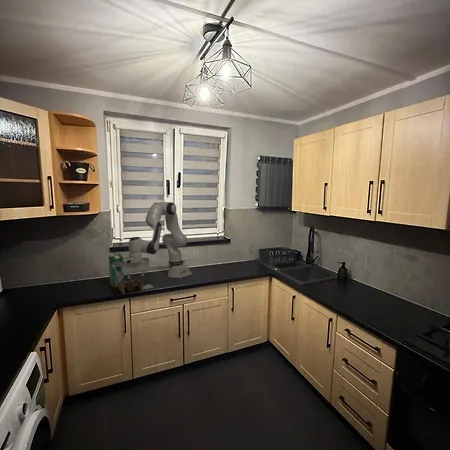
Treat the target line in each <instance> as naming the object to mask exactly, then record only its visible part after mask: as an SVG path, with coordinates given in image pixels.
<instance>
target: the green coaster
mask: <svg viewBox="0 0 450 450" xmlns="http://www.w3.org/2000/svg"><path fill="white" fill-rule="evenodd" d="M153 288H155V287H154V286H153V285H152V284H150V283H149V284H143V290H144V289H145V290H149V289H153Z"/></svg>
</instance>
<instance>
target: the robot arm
mask: <svg viewBox="0 0 450 450" xmlns="http://www.w3.org/2000/svg"><path fill="white" fill-rule="evenodd" d="M162 216H164V219H165V221H164V222H165V226H166V228H165V229H166V230H167V232H170V233H165V234H163V235H162V237H161V233H162V228H163V227H162V223H161V218H162ZM145 223H146V225H147V226H148V227H150V228H151V229H153V233H152V239H151V240H145V239H141V237H140V236H133V237H130V238H129V240H128V252H129V253H128V256H127V257H125V258H124V259H123V260H122V262H123V263H122V265H121V273H123V274H124V275H126V276H127V279H128V280H132V279H131V278H132V277H131V275H130V274H131V273H137V272H138V273H139V272H141V273H140V277H144V274H145V272H146V271H149V270H150V269H151V268H150V259H149V258H148V257H143V256H142V253H143V254H148V255H155V254H156V253H158V252H159V250H160V239H161V238H162V239H161V241H162V243H163V244H164V246H165V247H166V249H167V252H168V272H167V277H168V278H173V279H174V278H175V279H176V278H178V279H182V278H184V277H188V276H190V275H193V273H192V271H190V268H189V266H187V265H186V264H185V263H186V261H185V260H182V252H181V250H180V249H179V248H178V247H186V245H187V244H188V241H189V239H188V237H187V236H186V235H185V234H184V233H183V231H182V230H181V228H180V224H179V218H178V213H177V205H176V204H175V203H174V202H171V201H163V202H154V203H152V204H151V206H150V207H149V210H148V211H147V214H146V217H145Z"/></svg>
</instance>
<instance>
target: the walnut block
mask: <svg viewBox="0 0 450 450" xmlns="http://www.w3.org/2000/svg"><path fill="white" fill-rule="evenodd" d="M128 281H129V280H128ZM126 286H127V288H126V290H127V291H128V292H131V290H132V291H135V290H136V286H135V282H134V281H129V282H126Z"/></svg>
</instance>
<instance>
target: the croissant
mask: <svg viewBox="0 0 450 450" xmlns="http://www.w3.org/2000/svg"><path fill="white" fill-rule="evenodd" d="M129 281H134V282H135V287H138V288H139V289H140V290H141V291H143V290H144V289H143V286H144V283H143V282H142V281H141V280H139V278H137V279H136V278H135V279H128V280H125V281H124V282H119V287H118V290H119V291H120V292H121V293H122V294H123V295H125V293H126V291H125V290H126V289H127V286H126V282H129Z"/></svg>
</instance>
